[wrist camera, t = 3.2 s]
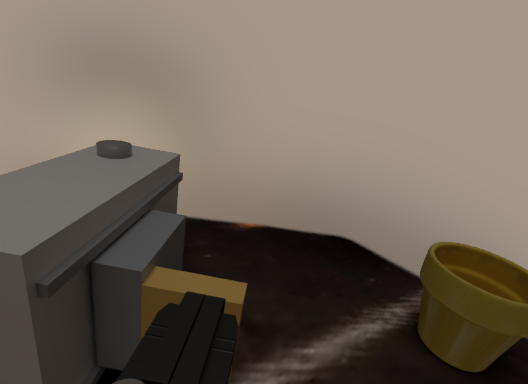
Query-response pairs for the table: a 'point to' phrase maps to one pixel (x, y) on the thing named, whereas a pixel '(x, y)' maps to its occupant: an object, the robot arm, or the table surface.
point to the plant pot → (471, 305)
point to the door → (147, 285)
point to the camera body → (68, 252)
